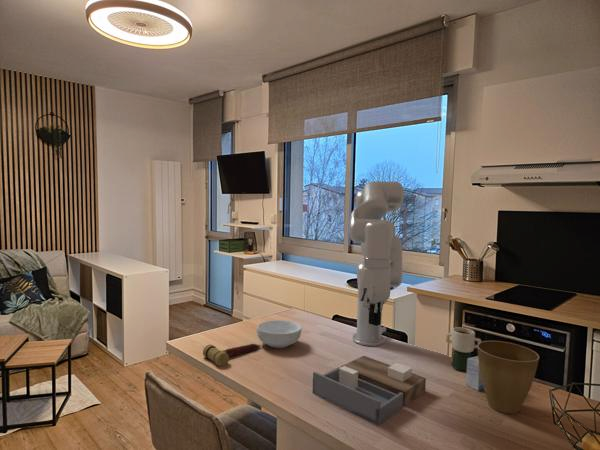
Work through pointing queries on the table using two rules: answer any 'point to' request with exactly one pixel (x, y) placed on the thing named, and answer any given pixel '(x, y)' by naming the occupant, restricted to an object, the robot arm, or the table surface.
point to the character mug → (462, 346)
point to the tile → (399, 372)
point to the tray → (358, 397)
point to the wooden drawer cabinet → (387, 378)
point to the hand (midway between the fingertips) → (374, 324)
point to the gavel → (226, 353)
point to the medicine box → (474, 374)
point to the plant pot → (506, 374)
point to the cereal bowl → (279, 333)
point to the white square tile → (348, 377)
